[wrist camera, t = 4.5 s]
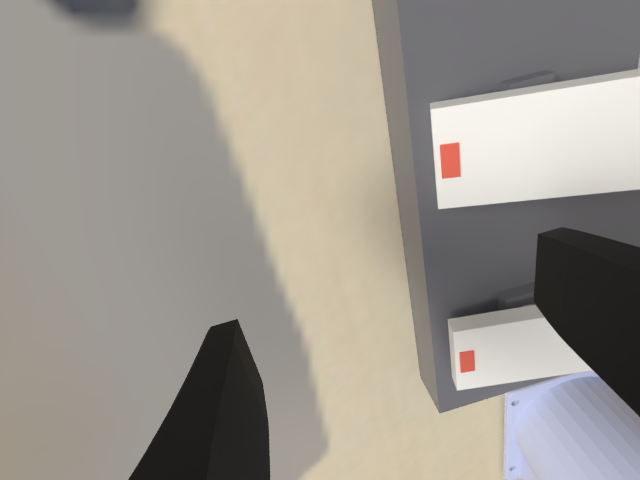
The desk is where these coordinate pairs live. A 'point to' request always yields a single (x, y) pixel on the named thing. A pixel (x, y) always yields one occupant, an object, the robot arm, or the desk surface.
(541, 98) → the rocker middle
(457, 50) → the rocker switch panel
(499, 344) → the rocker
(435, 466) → the desk surface
